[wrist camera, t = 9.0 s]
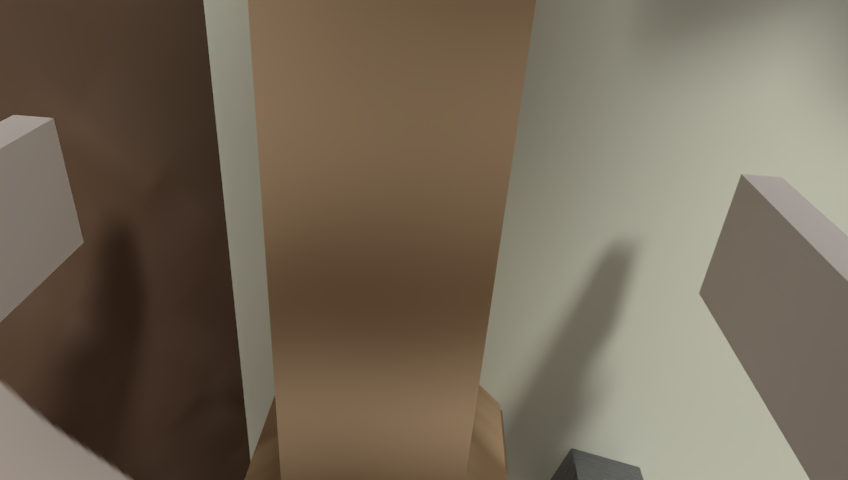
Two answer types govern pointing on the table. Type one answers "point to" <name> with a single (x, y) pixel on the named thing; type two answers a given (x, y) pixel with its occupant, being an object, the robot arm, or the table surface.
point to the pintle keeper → (594, 468)
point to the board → (608, 222)
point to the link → (384, 230)
